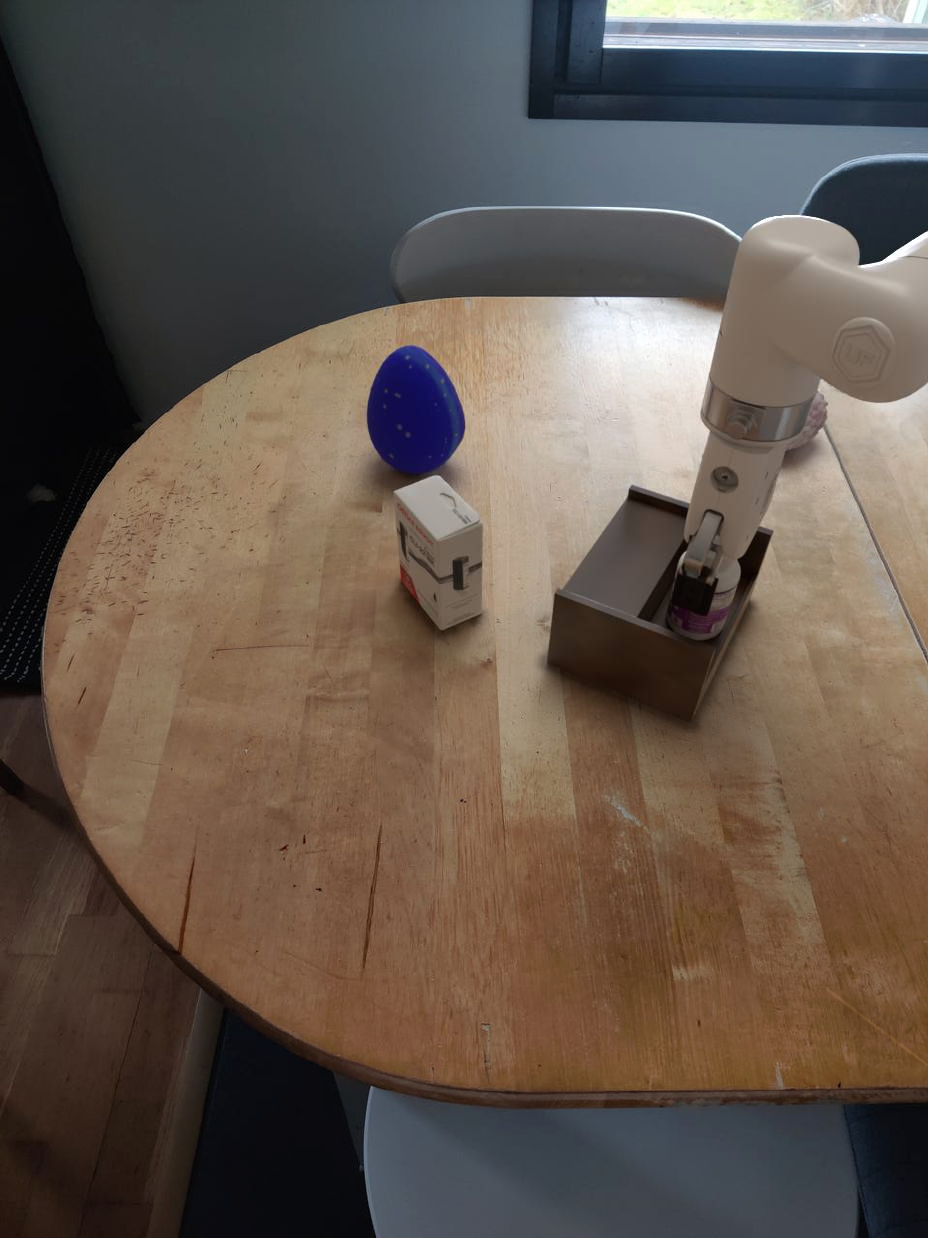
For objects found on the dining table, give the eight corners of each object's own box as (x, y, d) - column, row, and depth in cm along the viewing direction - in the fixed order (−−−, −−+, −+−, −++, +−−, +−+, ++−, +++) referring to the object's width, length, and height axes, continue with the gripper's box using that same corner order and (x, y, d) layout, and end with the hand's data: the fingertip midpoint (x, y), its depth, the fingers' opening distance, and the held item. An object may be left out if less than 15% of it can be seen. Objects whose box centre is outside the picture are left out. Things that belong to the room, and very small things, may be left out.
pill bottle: (659, 602, 81) (677, 523, 74) (714, 600, 81) (738, 520, 74) (672, 644, 77) (693, 565, 70) (730, 642, 77) (757, 562, 70)
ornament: (475, 461, 101) (477, 344, 91) (430, 501, 96) (426, 382, 85) (401, 431, 106) (394, 316, 95) (353, 468, 100) (341, 350, 90)
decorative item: (853, 406, 101) (816, 352, 95) (800, 484, 101) (760, 435, 95) (792, 397, 108) (755, 346, 103) (743, 469, 108) (703, 423, 103)
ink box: (398, 580, 87) (391, 487, 79) (440, 564, 89) (438, 470, 80) (440, 633, 82) (437, 539, 74) (483, 614, 84) (486, 520, 75)
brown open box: (750, 599, 85) (773, 530, 79) (691, 722, 75) (713, 654, 68) (619, 553, 90) (631, 484, 84) (546, 662, 80) (554, 593, 73)
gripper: (774, 479, 56) (718, 654, 68) (836, 362, 66) (777, 532, 79) (665, 446, 58) (630, 620, 71) (741, 339, 69) (699, 507, 81)
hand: (708, 574), depth 75 cm, fingers open, 9 cm apart
